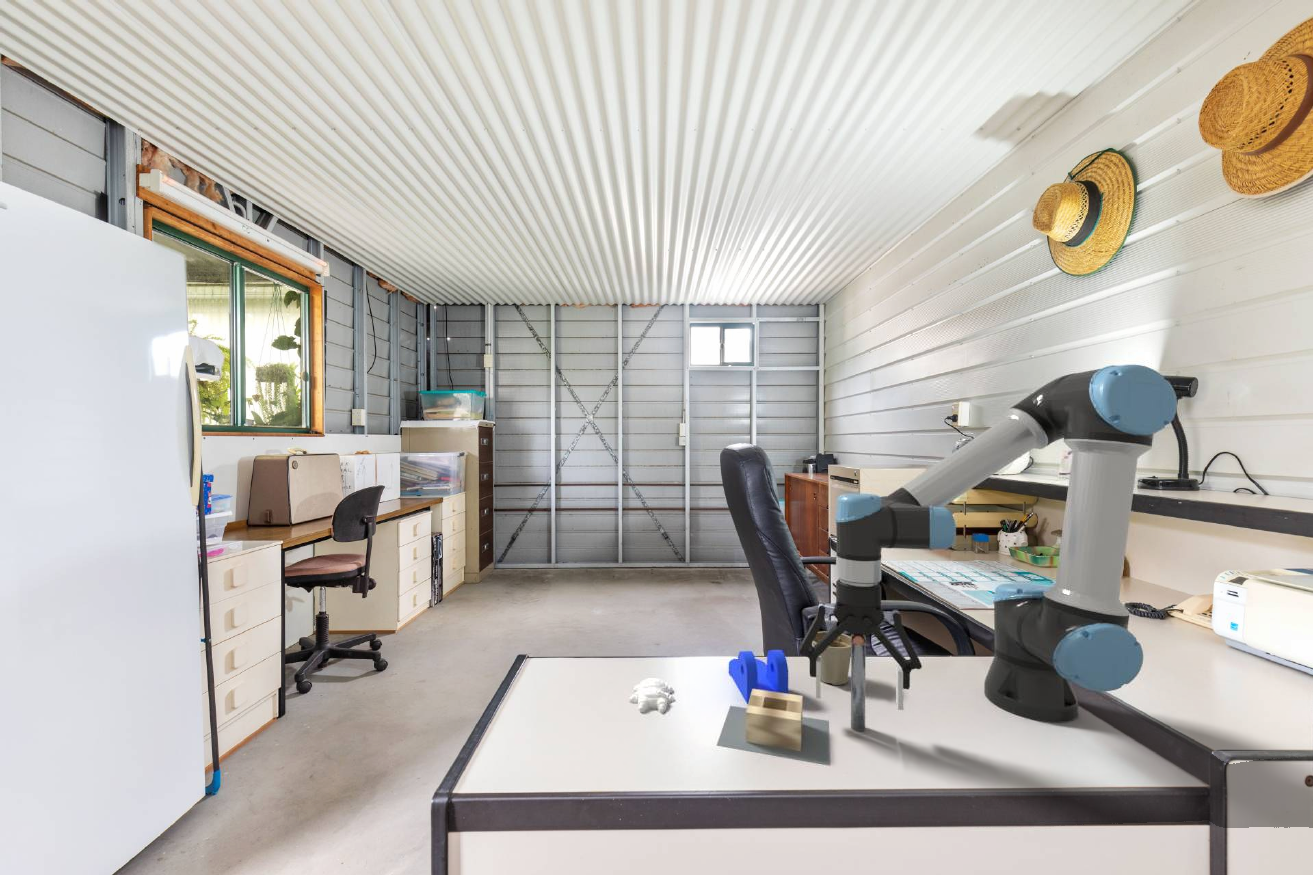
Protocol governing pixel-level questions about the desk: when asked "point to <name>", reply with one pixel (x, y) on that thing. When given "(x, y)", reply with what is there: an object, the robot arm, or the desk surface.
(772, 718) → the block with square hole
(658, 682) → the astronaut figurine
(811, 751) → the mat
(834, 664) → the flower pot
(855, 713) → the copper-tipped rod
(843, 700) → the desk surface
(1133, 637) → the robot arm
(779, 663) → the bracket
